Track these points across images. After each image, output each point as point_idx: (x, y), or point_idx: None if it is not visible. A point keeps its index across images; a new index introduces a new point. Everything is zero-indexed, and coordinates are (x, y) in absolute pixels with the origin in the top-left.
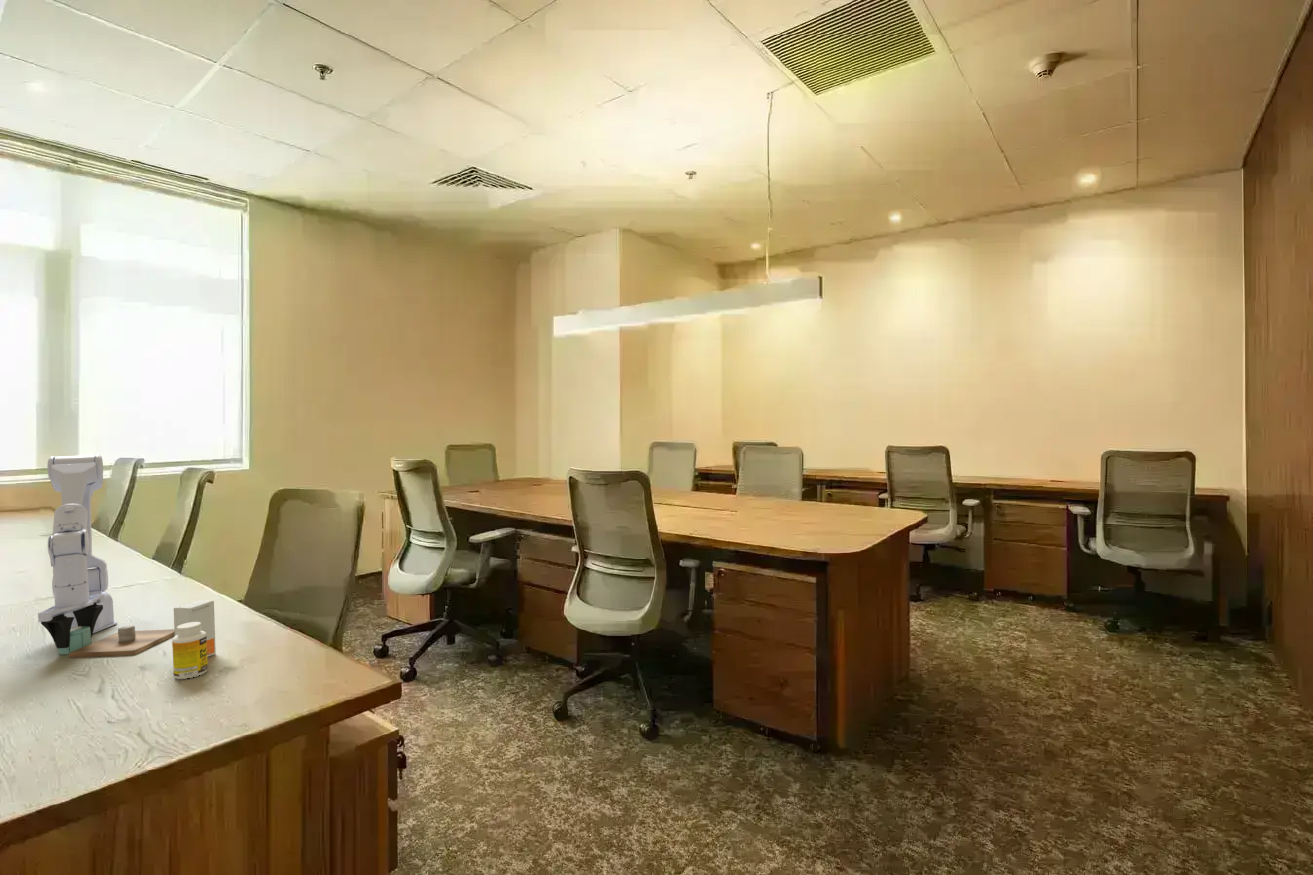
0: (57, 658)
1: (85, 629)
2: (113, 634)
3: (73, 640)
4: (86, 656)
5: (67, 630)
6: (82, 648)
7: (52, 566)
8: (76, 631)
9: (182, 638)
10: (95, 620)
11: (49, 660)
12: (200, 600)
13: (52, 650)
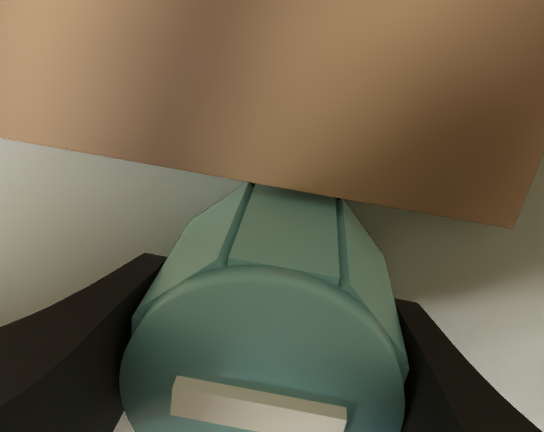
0: (472, 290)
1: (281, 292)
2: (7, 136)
3: (382, 301)
4: None
5: (503, 415)
6: (401, 183)
7: None
8: (344, 349)
9: None
10: (36, 324)
11: (501, 320)
12: None
13: None
